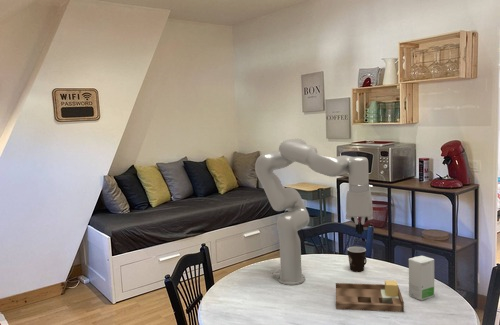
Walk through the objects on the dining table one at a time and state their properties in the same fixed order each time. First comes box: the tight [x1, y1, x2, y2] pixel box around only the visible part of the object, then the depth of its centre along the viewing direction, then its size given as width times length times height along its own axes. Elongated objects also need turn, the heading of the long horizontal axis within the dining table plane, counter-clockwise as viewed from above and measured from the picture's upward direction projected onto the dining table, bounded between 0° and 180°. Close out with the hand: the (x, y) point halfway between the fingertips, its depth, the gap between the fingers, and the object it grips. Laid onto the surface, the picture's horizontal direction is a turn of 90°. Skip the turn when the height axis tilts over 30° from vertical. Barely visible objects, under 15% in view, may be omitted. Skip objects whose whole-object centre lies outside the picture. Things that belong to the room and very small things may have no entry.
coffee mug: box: [347, 246, 367, 273], centre depth 200 cm, size 12×9×10 cm
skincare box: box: [408, 255, 435, 301], centre depth 170 cm, size 8×7×16 cm
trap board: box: [335, 282, 405, 313], centre depth 168 cm, size 25×15×4 cm, turn 78°
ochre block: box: [384, 280, 399, 296], centre depth 169 cm, size 4×4×4 cm
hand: (359, 233), depth 169 cm, fingers closed
